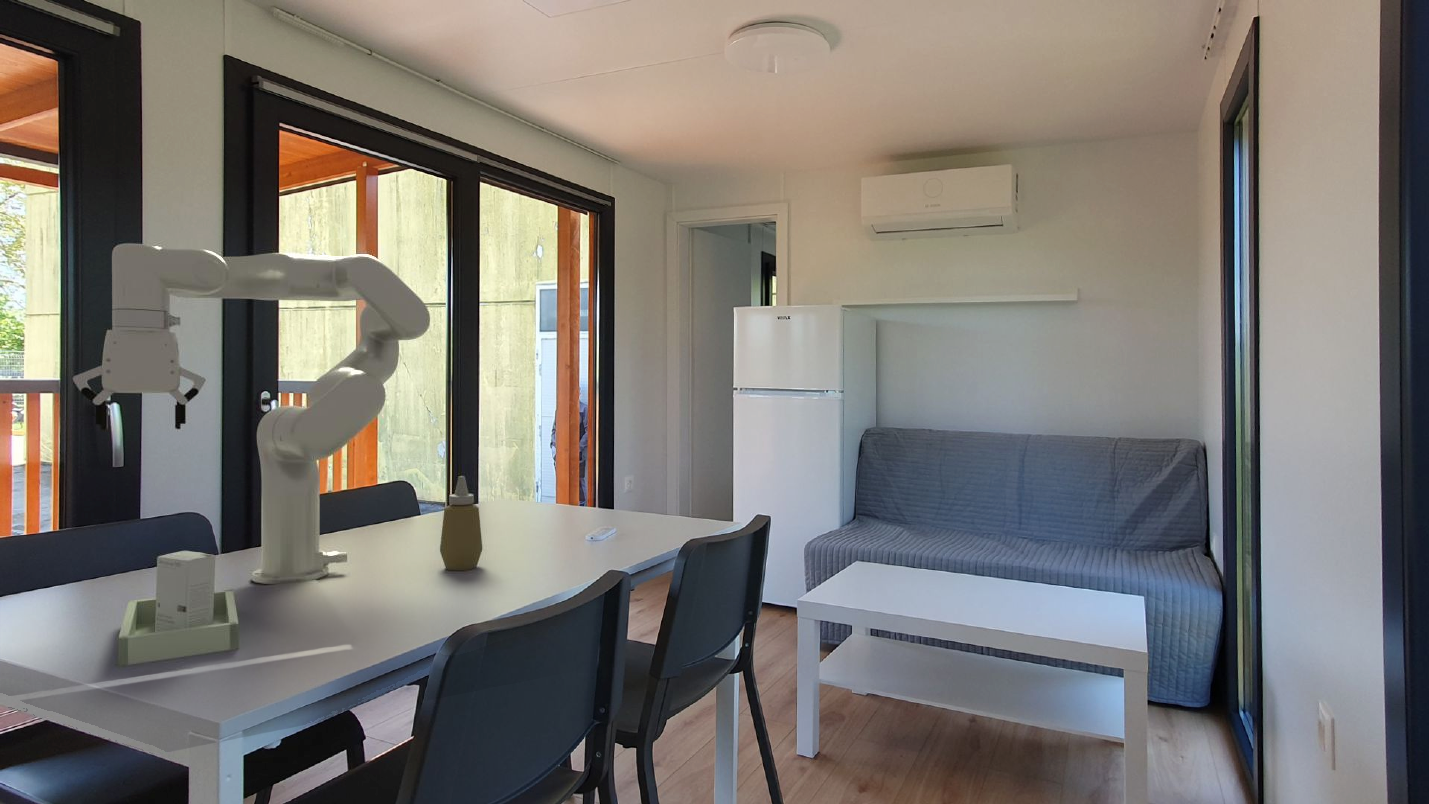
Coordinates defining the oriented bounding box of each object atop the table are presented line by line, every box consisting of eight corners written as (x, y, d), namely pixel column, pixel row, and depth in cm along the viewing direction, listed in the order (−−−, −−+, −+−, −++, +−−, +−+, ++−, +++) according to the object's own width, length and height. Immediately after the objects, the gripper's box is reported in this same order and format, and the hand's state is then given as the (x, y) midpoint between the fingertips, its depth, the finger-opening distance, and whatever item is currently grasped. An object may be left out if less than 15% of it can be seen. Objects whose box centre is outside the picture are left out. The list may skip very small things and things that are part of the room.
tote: (232, 615, 124) (232, 589, 124) (238, 652, 108) (238, 623, 107) (129, 628, 117) (129, 600, 117) (118, 670, 100) (118, 639, 100)
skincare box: (152, 645, 108) (152, 556, 108) (184, 635, 113) (184, 549, 112) (185, 651, 106) (185, 560, 106) (216, 640, 110) (216, 553, 110)
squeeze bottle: (465, 561, 163) (466, 473, 162) (491, 567, 158) (491, 476, 158) (430, 568, 156) (431, 476, 156) (456, 574, 152) (457, 480, 151)
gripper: (205, 326, 136) (205, 427, 137) (75, 321, 127) (76, 429, 127) (205, 324, 130) (205, 429, 130) (69, 318, 120) (70, 432, 121)
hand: (142, 429), depth 129 cm, fingers open, 9 cm apart
